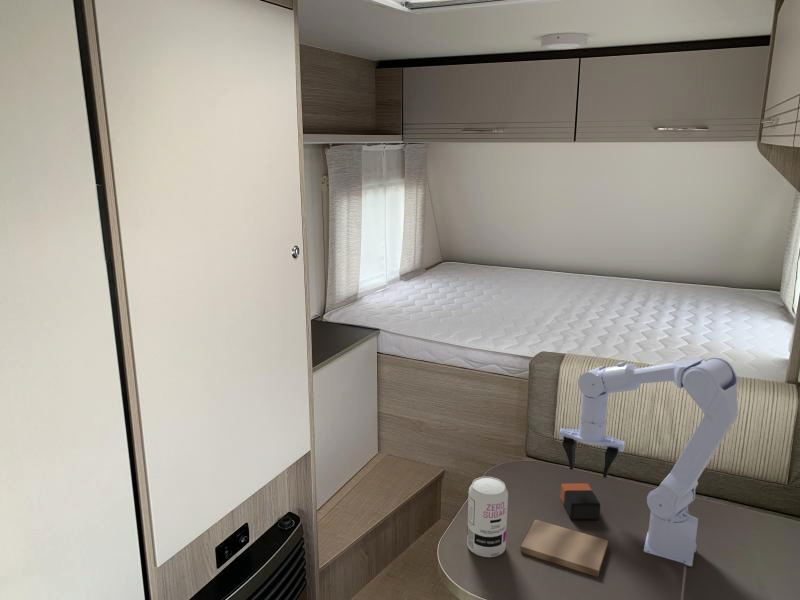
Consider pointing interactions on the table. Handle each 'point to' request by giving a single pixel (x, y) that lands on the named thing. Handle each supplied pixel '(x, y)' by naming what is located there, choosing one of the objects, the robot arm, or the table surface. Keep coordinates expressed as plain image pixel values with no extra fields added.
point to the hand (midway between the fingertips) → (588, 471)
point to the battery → (580, 502)
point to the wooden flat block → (565, 547)
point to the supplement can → (487, 517)
